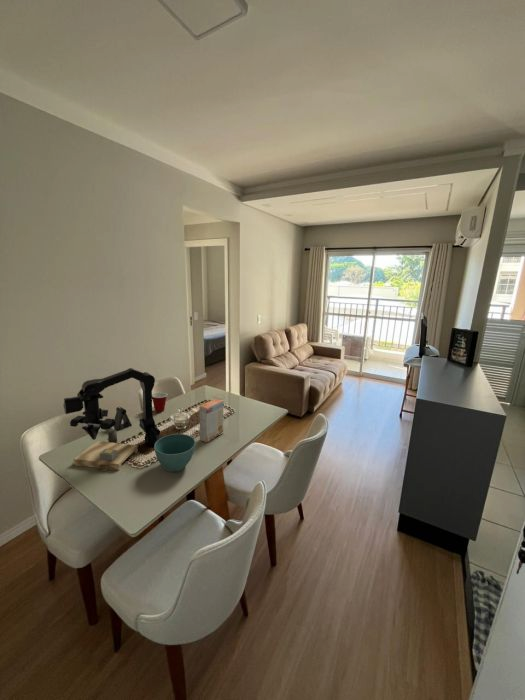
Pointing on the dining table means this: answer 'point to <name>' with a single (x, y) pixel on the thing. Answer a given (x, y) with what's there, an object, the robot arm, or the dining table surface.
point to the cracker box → (211, 419)
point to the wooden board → (93, 460)
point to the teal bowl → (174, 451)
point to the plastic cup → (159, 401)
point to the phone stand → (118, 419)
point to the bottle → (112, 435)
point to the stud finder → (108, 454)
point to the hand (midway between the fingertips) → (94, 439)
